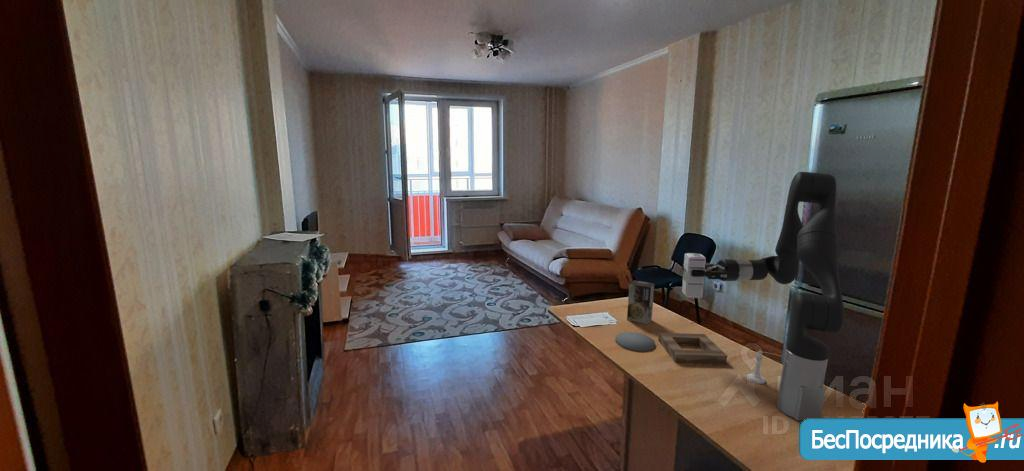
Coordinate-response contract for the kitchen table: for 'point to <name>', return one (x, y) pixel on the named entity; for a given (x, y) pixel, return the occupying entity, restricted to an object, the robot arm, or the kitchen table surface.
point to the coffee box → (640, 301)
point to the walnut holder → (706, 355)
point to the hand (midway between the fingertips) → (687, 270)
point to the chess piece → (757, 370)
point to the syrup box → (691, 285)
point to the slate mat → (635, 341)
